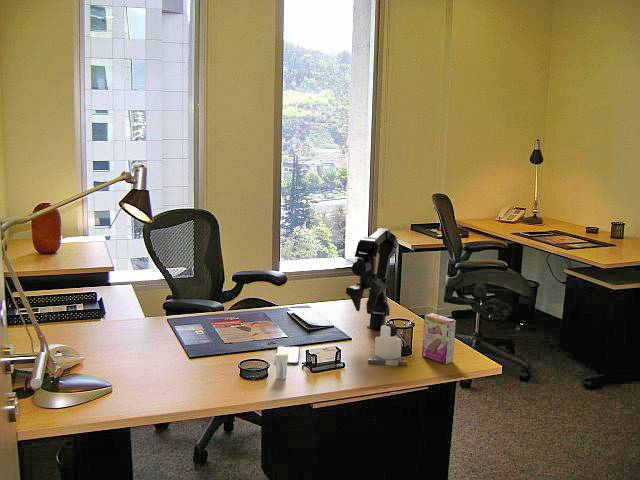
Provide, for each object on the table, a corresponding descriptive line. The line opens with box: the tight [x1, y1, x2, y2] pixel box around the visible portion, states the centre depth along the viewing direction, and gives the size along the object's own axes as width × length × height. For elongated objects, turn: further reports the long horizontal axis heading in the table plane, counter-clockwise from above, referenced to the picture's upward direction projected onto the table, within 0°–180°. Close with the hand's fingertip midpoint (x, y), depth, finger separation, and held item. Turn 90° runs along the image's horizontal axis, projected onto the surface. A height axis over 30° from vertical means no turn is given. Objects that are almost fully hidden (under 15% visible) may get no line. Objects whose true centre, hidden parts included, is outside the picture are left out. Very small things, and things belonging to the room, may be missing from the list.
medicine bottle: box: [374, 323, 403, 360], centre depth 262 cm, size 7×7×12 cm
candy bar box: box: [421, 312, 457, 365], centre depth 261 cm, size 11×5×16 cm, turn 44°
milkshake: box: [272, 351, 288, 381], centre depth 240 cm, size 4×5×10 cm
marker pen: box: [367, 358, 408, 367], centre depth 256 cm, size 2×14×2 cm, turn 84°
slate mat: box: [374, 354, 402, 360], centre depth 263 cm, size 10×10×1 cm
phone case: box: [274, 345, 301, 366], centre depth 260 cm, size 9×2×16 cm
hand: (365, 308), depth 278 cm, fingers open, 9 cm apart
